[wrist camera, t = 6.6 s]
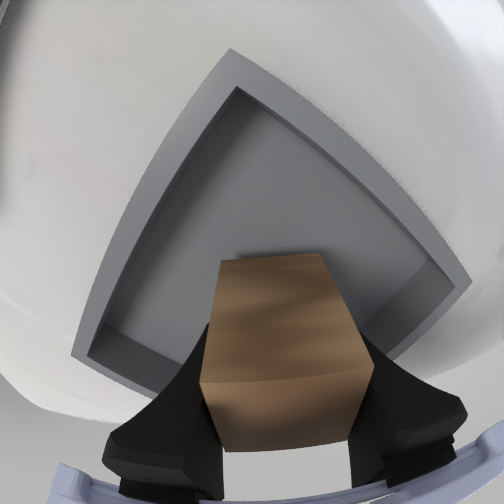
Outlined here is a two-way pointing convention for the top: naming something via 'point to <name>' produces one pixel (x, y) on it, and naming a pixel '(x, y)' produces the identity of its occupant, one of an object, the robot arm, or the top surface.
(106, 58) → the top surface
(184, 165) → the charcoal bin
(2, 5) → the supplement box
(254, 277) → the walnut block
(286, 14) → the top surface
